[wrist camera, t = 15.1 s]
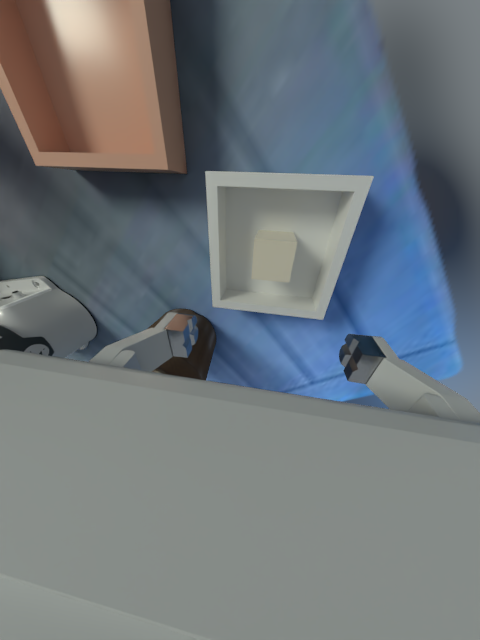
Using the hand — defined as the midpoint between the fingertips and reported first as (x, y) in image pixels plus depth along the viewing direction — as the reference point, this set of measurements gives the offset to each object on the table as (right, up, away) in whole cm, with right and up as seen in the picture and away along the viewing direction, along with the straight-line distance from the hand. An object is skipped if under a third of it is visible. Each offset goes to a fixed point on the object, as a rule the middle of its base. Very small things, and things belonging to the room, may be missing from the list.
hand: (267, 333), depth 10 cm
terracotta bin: (-16, +27, +9) cm, 32 cm away
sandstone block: (+3, +11, +15) cm, 19 cm away
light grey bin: (+3, +11, +16) cm, 20 cm away
